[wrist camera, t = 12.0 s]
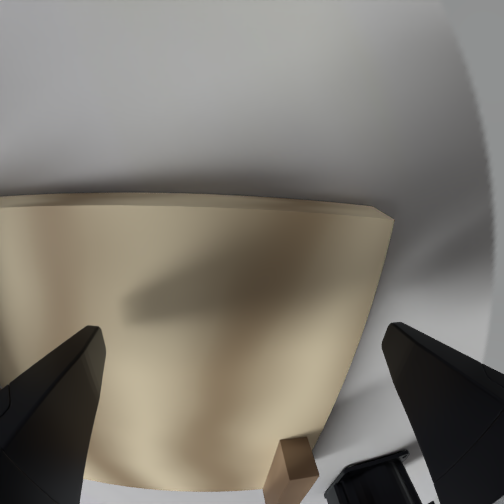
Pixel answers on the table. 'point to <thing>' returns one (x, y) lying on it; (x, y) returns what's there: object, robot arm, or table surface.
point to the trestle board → (195, 326)
